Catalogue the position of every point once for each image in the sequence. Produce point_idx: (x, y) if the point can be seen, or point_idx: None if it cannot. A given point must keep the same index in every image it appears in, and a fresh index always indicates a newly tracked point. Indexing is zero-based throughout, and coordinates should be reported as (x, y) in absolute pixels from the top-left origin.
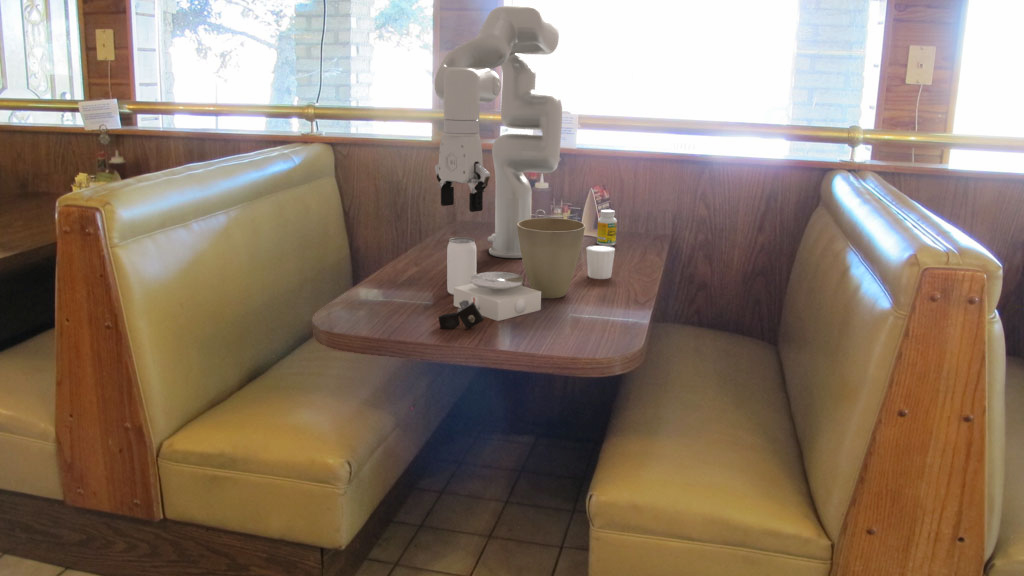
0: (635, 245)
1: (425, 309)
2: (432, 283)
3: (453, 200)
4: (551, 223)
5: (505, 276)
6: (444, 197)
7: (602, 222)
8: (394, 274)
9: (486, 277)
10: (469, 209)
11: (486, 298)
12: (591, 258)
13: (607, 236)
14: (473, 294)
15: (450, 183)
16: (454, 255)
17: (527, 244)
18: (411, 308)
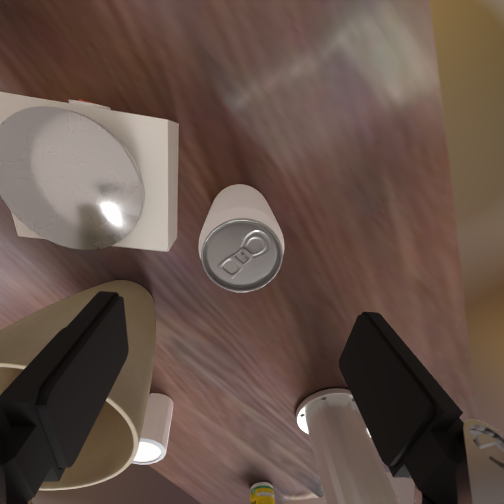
0: (231, 497)
1: (201, 49)
2: (326, 221)
3: (346, 380)
4: (114, 457)
5: (74, 215)
6: (381, 354)
7: None
8: (427, 218)
9: (92, 172)
10: (118, 299)
11: (28, 96)
12: (145, 423)
13: (255, 499)
14: (85, 106)
15: (429, 502)
16: (231, 203)
17: (47, 327)
18: (231, 28)
